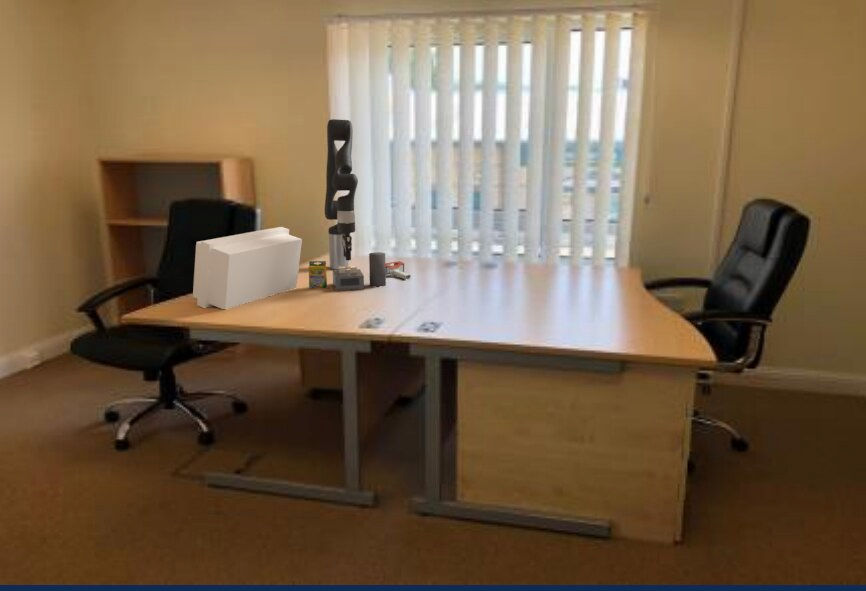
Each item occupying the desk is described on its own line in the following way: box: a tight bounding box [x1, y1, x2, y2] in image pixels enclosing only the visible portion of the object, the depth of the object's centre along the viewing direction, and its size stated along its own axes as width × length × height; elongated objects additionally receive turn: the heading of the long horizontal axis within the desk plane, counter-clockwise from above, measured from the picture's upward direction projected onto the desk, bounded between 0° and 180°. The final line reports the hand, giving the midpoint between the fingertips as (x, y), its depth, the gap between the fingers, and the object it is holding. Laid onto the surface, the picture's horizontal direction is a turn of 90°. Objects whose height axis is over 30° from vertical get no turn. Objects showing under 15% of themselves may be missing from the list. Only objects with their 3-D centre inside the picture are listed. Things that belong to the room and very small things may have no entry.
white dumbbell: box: [338, 265, 358, 273], centre depth 297 cm, size 1×8×3 cm, turn 103°
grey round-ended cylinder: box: [368, 251, 387, 288], centre depth 300 cm, size 7×7×14 cm
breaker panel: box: [332, 268, 365, 291], centre depth 298 cm, size 14×12×6 cm
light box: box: [192, 226, 303, 310], centre depth 278 cm, size 45×17×26 cm, turn 151°
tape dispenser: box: [385, 260, 412, 281], centre depth 321 cm, size 18×5×20 cm
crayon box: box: [308, 260, 328, 289], centre depth 295 cm, size 7×3×12 cm, turn 93°
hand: (347, 258), depth 296 cm, fingers open, 8 cm apart
